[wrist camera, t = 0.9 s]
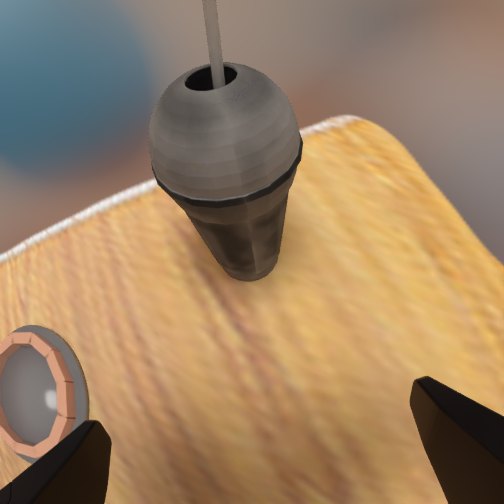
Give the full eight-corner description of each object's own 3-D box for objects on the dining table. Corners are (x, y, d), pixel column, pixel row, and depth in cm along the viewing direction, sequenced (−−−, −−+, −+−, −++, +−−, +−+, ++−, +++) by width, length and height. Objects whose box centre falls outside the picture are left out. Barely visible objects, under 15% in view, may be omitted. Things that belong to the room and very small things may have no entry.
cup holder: (116, 432, 19) (104, 433, 18) (26, 481, 17) (13, 483, 15) (54, 300, 25) (42, 294, 23) (-19, 365, 22) (-31, 362, 20)
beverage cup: (187, 282, 24) (37, 35, 6) (222, 205, 27) (157, -36, 9) (279, 311, 22) (262, 0, 5) (306, 226, 25) (322, -44, 8)
